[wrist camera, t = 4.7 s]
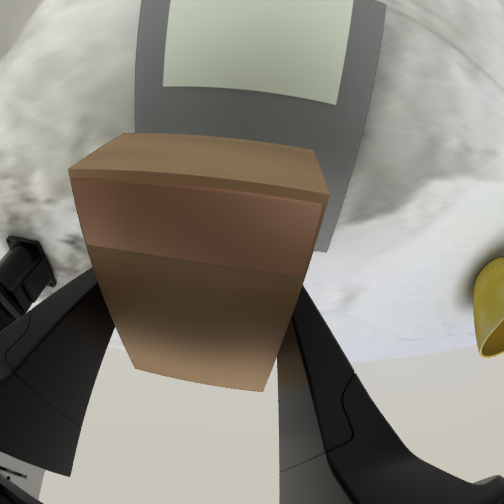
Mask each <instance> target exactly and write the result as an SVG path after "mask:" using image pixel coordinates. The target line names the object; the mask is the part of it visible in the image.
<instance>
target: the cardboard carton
mask: <svg viewBox="0 0 504 504" xmlns="http://www.w3.org/2000/svg"><path fill="white" fill-rule="evenodd" d="M68 170H69V176H70V181H71V186H72V191H73V196H74V201H75V205H76V209H77V214H78V218H79V222H80V226H81V229H82V233H83V237H84V240H85V244H86V247H87V250H88V254H89V257H90V260H91V263H92V266H93V269H94V272H95V275H96V278H97V281H98V284H99V286H100V289H101V292H102V295H103V297H104V300H105V302H106V305H107V308H108V310H109V313H110V315H111V317H112V320H113V322H114V324H115V327H116V329H117V331H118V334H119V336H120V338H121V340H122V343H123V345H124V347H125V349H126V351H127V353H128V355H129V357H130V359H131V361H132V363H133V365H134V367H135V369H139V370H143V371H146V372H150V373H155V374H158V375H163V376H167V377H171V378H176V379H181V380H186V381H191V382H196V383H201V384H207V385H213V386H219V387H226V388H233V389H240V390H249V391H257V392H263V390H264V388H265V385H266V383H267V380H268V378H269V375H270V373H271V370H272V368H273V365H274V363H275V360H276V357H277V354H278V352H279V349H280V346H281V344H282V341H283V338H284V336H285V333H286V330H287V328H288V325H289V322H290V319H291V317H292V314H293V311H294V308H295V305H296V303H297V300H298V297H299V294H300V291H301V288H302V285H303V282H304V279H305V276H306V273H307V270H308V267H309V264H310V260H311V257H312V254H313V251H314V248H315V244H316V241H317V238H318V235H319V231H320V228H321V225H322V221H323V218H324V214H325V211H326V207H327V204H328V200H329V197H330V193H329V190H328V187H327V185H326V182H325V179H324V177H323V174H322V171H321V169H320V166H319V163H318V161H317V158H316V156H315V153H314V151H313V150H309V149H304V148H298V147H292V146H286V145H280V144H273V143H267V142H259V141H252V140H243V139H234V138H225V137H214V136H201V135H185V134H161V133H123V134H122V135H120V136H118V137H117V138H115V139H113V140H112V141H110V142H108V143H107V144H105V145H103V146H102V147H100V148H99V149H97V150H96V151H94V152H92V153H91V154H89V155H88V156H86V157H85V158H83V159H82V160H80V161H79V162H78V163H76V164H75V165H73V166H72V167H70V168H69V169H68Z"/></svg>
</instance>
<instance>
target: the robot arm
mask: <svg viewBox="0 0 504 504" xmlns="http://www.w3.org/2000/svg"><path fill="white" fill-rule="evenodd" d="M6 241H7V243H8V246H9V248H10V250H9V251H8V252H7V254H6V255H5V256H4V257H3V258H2V259H1V261H0V504H43V503H41V502H40V501H38V499H39V494H40V489H41V485H42V481H43V476H44V472H45V470H48V471H51V472H54V473H58V474H61V475H64V476H68V477H70V475H71V471H72V466H73V461H74V457H75V452H76V448H77V444H78V440H79V436H80V431H81V427H82V423H83V420H84V416H85V413H86V409H87V406H88V403H89V399H90V396H91V393H92V389H93V386H94V383H95V380H96V377H97V374H98V371H99V368H100V365H101V363H102V360H103V357H104V354H105V351H106V349H107V346H108V344H109V341H110V338H111V336H112V333H113V331H114V328H115V324H114V322H113V320H112V317H111V315H110V313H109V310H108V308H107V305H106V302H105V300H104V297H103V295H102V292H101V289H100V286H99V284H98V281H97V278H96V275H95V272H94V269H93V267H91V268H90V269H88V270H87V271H85V272H84V273H82V274H81V275H79V276H78V277H76V278H75V279H73V280H72V281H70V282H69V283H68V284H66V285H65V286H63V287H62V288H60V289H59V290H57V291H56V292H55V293H53V294H52V295H50V296H49V297H48V298H46V299H45V300H43V301H42V302H41V303H39V304H38V305H36V306H35V307H34V308H32V310H30V311H28V309H29V308H30V306H31V305H32V303H35V301H36V300H37V298H38V297H39V295H40V294H41V292H42V291H43V289H44V288H45V287H46V285H47V286H50V287H55V286H56V282H55V280H54V278H53V275H52V273H51V271H50V268H49V266H48V264H47V261H46V259H45V256H44V254H43V251H42V249H41V246H40V244H39V243H38V242H35V241H30V240H25V239H21V238H16V237H11V236H8V237H7V239H6ZM27 311H28V312H27ZM26 312H27V313H26ZM277 369H278V403H279V457H280V458H279V462H280V473H279V474H280V504H504V478H503V477H502V476H500V475H495V476H492V477H489V478H486V479H483V480H480V481H478V482H475V483H469V482H466V481H464V480H462V479H460V478H458V477H455V476H453V475H451V474H449V473H447V472H445V471H443V470H441V469H439V468H437V467H435V466H433V465H431V464H429V463H426V462H425V461H423V460H421V459H420V458H418V457H417V456H415V455H414V454H413V453H412V452H411V451H409V449H408V448H407V447H406V446H405V445H404V443H403V442H402V441H401V439H400V438H399V437H398V435H397V434H396V433H395V431H394V430H393V429H392V427H391V426H390V424H389V423H388V422H387V421H386V419H385V418H384V416H383V415H382V413H381V412H380V411H379V409H378V408H377V407H376V405H375V403H374V402H373V401H372V399H371V398H370V396H369V394H368V393H367V391H366V389H365V388H364V386H363V385H362V383H361V381H360V379H359V378H358V376H357V374H356V373H354V369H353V367H352V366H351V364H350V362H349V361H348V359H347V357H346V356H345V354H344V352H343V350H342V349H341V347H340V345H339V344H338V342H337V340H336V339H335V337H334V335H333V334H332V332H331V330H330V329H329V327H328V325H327V324H326V322H325V320H324V319H323V317H322V315H321V314H320V312H319V310H318V309H317V307H316V306H315V304H314V302H313V301H312V299H311V297H310V296H309V294H308V292H307V291H306V289H305V288H304V286H303V285H302V288H301V291H300V294H299V297H298V300H297V303H296V305H295V308H294V311H293V314H292V317H291V319H290V322H289V325H288V328H287V330H286V333H285V336H284V338H283V341H282V344H281V346H280V349H279V352H278V354H277Z"/></svg>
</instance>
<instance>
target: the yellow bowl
mask: <svg viewBox="0 0 504 504" xmlns="http://www.w3.org/2000/svg"><path fill="white" fill-rule="evenodd" d="M473 307H474V324H475V333H476V339H477V345H478V349H479V353H480V356H481V357H483V358H491V357H495V356H497V355H500V354H502V353H504V258H503V257H500V258H497V259H494V260H493V261H491V262H490V263H488V264H487V265H486V266H485V267H484V268H483V269H482V270H481V272H480V273H479V275H478V276H477V278H476V281H475V285H474V299H473Z"/></svg>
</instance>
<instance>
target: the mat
mask: <svg viewBox="0 0 504 504" xmlns="http://www.w3.org/2000/svg"><path fill="white" fill-rule="evenodd" d="M385 12H386V4H384V3H381V2H378V1H375V0H142V2H141V9H140V17H139V26H138V37H137V49H136V66H135V133H161V134H185V135H201V136H214V137H225V138H234V139H243V140H252V141H259V142H267V143H273V144H280V145H286V146H292V147H298V148H304V149H309V150H313V151H314V153H315V156H316V158H317V161H318V163H319V166H320V169H321V171H322V174H323V177H324V179H325V182H326V185H327V187H328V190H329V193H330V197H329V200H328V204H327V207H326V211H325V214H324V218H323V221H322V225H321V228H320V231H319V235H318V238H317V241H316V244H315V248H314V251H320V252H327V250H328V247H329V244H330V241H331V238H332V235H333V232H334V229H335V226H336V223H337V220H338V217H339V214H340V211H341V208H342V204H343V201H344V198H345V194H346V191H347V188H348V184H349V181H350V177H351V174H352V170H353V167H354V163H355V160H356V156H357V152H358V148H359V145H360V141H361V137H362V133H363V129H364V125H365V120H366V116H367V112H368V107H369V103H370V98H371V94H372V89H373V84H374V79H375V74H376V69H377V64H378V58H379V52H380V46H381V40H382V34H383V27H384V20H385Z"/></svg>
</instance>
